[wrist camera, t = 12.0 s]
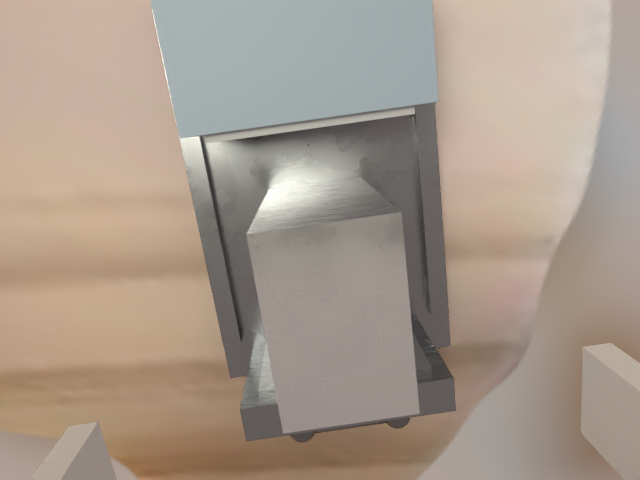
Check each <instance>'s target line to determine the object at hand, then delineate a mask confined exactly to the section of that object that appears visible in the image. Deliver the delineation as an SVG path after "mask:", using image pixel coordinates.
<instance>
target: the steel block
mask: <svg viewBox="0 0 640 480" xmlns="http://www.w3.org/2000/svg"><path fill="white" fill-rule="evenodd" d="M246 236H247V241H248V247H249V252H250V257H251V263H252V268H253V274H254V279H255V284H256V290H257V295H258V301H259V306H260V311H261V317H262V322H263V328H264V333H265V338H266V344H267V349H268V355H269V360H270V365H271V371H272V376H273V382H274V387H275V392H276V398H277V403H278V409H279V414H280V419H281V425H282V430H283V434H284V433H291V432H298V431H305V430H311V429H318V428H325V427H332V426H339V425H346V424H353V423H359V422H366V421H373V420H380V419H387V418H394V417H401V416H407V415H414V414H420V411H419V400H418V389H417V378H416V367H415V356H414V345H413V334H412V323H411V312H410V301H409V290H408V279H407V268H406V257H405V246H404V235H403V224H402V212H401V211H399V210H398V209H397V208H396V207H395V206H394V205H392V204H391V203H390V202H389V201H388V200H387V199H385V198H384V197H383V196H382V195H381V194H380V193H378V192H377V191H376V190H375V189H374V188H373V187H371V186H370V185H369V184H368V183H367V182H366V181H365V180H363V179H362V178H361V177H357V178H350V179H343V180H336V181H329V182H322V183H315V184H308V185H301V186H294V187H287V188H280V189H273V190H268V192H267V194H266V196H265V198H264V200H263V202H262V204H261V206H260V208H259V210H258V212H257V214H256V216H255V218H254V220H253V222H252V224H251V226H250V228H249V230H248V232H247V234H246Z"/></svg>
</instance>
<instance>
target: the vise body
mask: <svg viewBox="0 0 640 480" xmlns="http://www.w3.org/2000/svg"><path fill="white" fill-rule="evenodd" d="M150 2H151V1H150ZM152 11H153V10H152ZM153 17H154V15H153ZM154 21H155V20H154ZM155 26H156V25H155ZM156 31H157V29H156ZM157 36H158V34H157ZM158 40H159V39H158ZM159 45H160V43H159ZM160 50H161V48H160ZM161 54H162V53H161ZM162 59H163V57H162ZM163 64H164V62H163ZM164 68H165V67H164ZM165 73H166V71H165ZM166 78H167V76H166ZM167 82H168V81H167ZM168 87H169V86H168ZM169 92H170V90H169ZM170 96H171V95H170ZM171 101H172V100H171ZM172 106H173V104H172ZM173 111H174V109H173ZM174 115H175V114H174ZM175 120H176V118H175ZM176 125H177V123H176ZM177 129H178V128H177ZM178 134H179V132H178ZM179 139H180V143H181V148H182V153H183V157H184V162H185V167H186V172H187V176H188V181H189V186H190V190H191V195H192V200H193V204H194V209H195V214H196V218H197V223H198V228H199V233H200V237H201V242H202V247H203V251H204V256H205V261H206V265H207V270H208V275H209V279H210V284H211V289H212V293H213V298H214V303H215V308H216V312H217V317H218V322H219V326H220V331H221V336H222V340H223V345H224V349H225V354H226V358H227V363H228V368H229V372H230V377H231V378H233V377H240V376H247V379H246V383H245V388H244V393H243V397H242V402H241V407H240V412H241V417H242V422H243V426H244V431H245V436H246V440H247V441H252V440H258V439H265V438H272V437H279V436H286V435H291V437H292V438H293V439H294V440H295V441H297V442H307V441H309V440H310V439H311V438H312V437H313V436H314V434H315V433H320V432H327V431H334V430H341V429H348V428H355V427H361V426H368V425H375V424H382V423H387V424H388V425H389V426H391V427H393V428H397V429H398V428H403V427H404V426H406V425H407V424H408V422H409V420H410V417H416V416H423V415H429V414H436V413H443V412H450V411H456V404H455V389H454V378H453V376H452V374H451V373H450V371H449V370H448V368H447V366H446V365H445V363H444V361H443V360H442V358H441V356H440V355H439V353H438V351H437V350H436V348H440V347H447V346H450V335H449V320H448V313H449V312H448V297H447V282H446V267H445V252H444V237H443V222H442V207H441V192H440V178H439V163H438V148H437V133H436V118H435V103H428V104H422V105H417V106H415V114H411V115H404V116H397V117H390V118H383V119H376V120H369V121H362V122H355V123H348V124H341V125H333V126H326V127H319V128H312V129H305V130H298V131H291V132H284V133H277V134H270V135H263V136H256V137H249V138H242V139H235V140H228V141H221V142H213V143H206V144H205V139H204V136H197V137H187V138H180V137H179ZM357 177H361V178H362V179H363V180H365V181H366V182H367V183H368V184H369V185H370V186H371V187H373V188H374V189H375V190H376V191H377V192H378V193H380V194H381V195H382V196H383V197H384V198H385V199H387V200H388V201H389V202H390V203H391V204H392V205H394V206H395V207H396V208H397V209H398V210H399V211H401V212H402V224H403V235H404V246H405V257H406V268H407V279H408V290H409V301H410V312H411V323H412V334H413V345H414V356H415V367H416V378H417V389H418V400H419V411H420V414H414V415H407V416H401V417H394V418H387V419H380V420H373V421H366V422H359V423H353V424H346V425H339V426H332V427H325V428H318V429H311V430H305V431H298V432H291V433H284V434H283V430H282V425H281V419H280V414H279V409H278V403H277V398H276V392H275V387H274V382H273V376H272V371H271V365H270V360H269V355H268V349H267V344H266V338H265V333H264V328H263V322H262V317H261V311H260V306H259V301H258V295H257V290H256V284H255V279H254V274H253V268H252V263H251V257H250V252H249V247H248V241H247V236H246V234H247V232H248V230H249V228H250V226H251V224H252V222H253V220H254V218H255V216H256V214H257V212H258V210H259V208H260V206H261V204H262V202H263V200H264V198H265V196H266V194H267V192H268V190H273V189H280V188H287V187H294V186H301V185H308V184H315V183H322V182H329V181H336V180H343V179H350V178H357Z"/></svg>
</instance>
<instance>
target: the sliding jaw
mask: <svg viewBox="0 0 640 480" xmlns="http://www.w3.org/2000/svg"><path fill="white" fill-rule="evenodd" d="M150 1H151V6H152V10H153V15H154V20H155V25H156V29H157V34H158V39H159V43H160V48H161V53H162V57H163V62H164V67H165V71H166V76H167V81H168V86H169V90H170V95H171V100H172V104H173V109H174V114H175V118H176V123H177V128H178V132H179V137H180V138H187V137H197V136H204V139H205V144H206V143H213V142H221V141H228V140H235V139H242V138H249V137H256V136H263V135H270V134H277V133H284V132H291V131H298V130H305V129H312V128H319V127H326V126H333V125H341V124H348V123H355V122H362V121H369V120H376V119H383V118H390V117H397V116H404V115H411V114H415V106H417V105H422V104H428V103H434V102H439V100H438V84H437V69H436V53H435V38H434V22H433V7H432V0H150Z"/></svg>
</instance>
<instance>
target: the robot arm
mask: <svg viewBox="0 0 640 480" xmlns="http://www.w3.org/2000/svg"><path fill="white" fill-rule="evenodd" d="M581 433H582V434H583V435H584V437H585V438H586V439H587V440H588V441H589V442H590V443H591V444H592V445H593V446H594V447H595V448H596V450H598V452H599V453H600V454H601V455H602V456H603V457H604V458H605V459H606V460H607V461H608V463H609V464H610V465H611V466H612V467H613V468H614V469H615V470H616V471H617V472H618V473H619V474H620V476H622V478H623V479H624V480H640V363H639V362H637V361H636V360H634V359H633V358H631V357H630V356H629V355H627V354H626V353H625V352H623V351H622V350H620V349H619V348H617V347H616V346H614V345H613V344H612V343H606V344H600V345H593V346H586V347H583V366H582V405H581ZM30 480H116V476H115V473H114V470H113V467H112V464H111V460H110V457H109V454H108V451H107V448H106V445H105V442H104V438H103V435H102V432H101V429H100V426H99V423H98V422H93V423H86V424H80V425H73V426H69V427H68V428H67V430H66V431H65V433H64V434H63V435H62V437H61V438H60V439H59V441H58V442H57V443H56V445H55V446H54V447H53V449H52V450H51V452H50V453H49V454H48V456H47V457H46V458H45V460H44V461H43V462H42V464H41V465H40V467H39V468H38V469H37V471H36V472H35V473H34V475H33V476H32V477H31V479H30Z"/></svg>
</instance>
